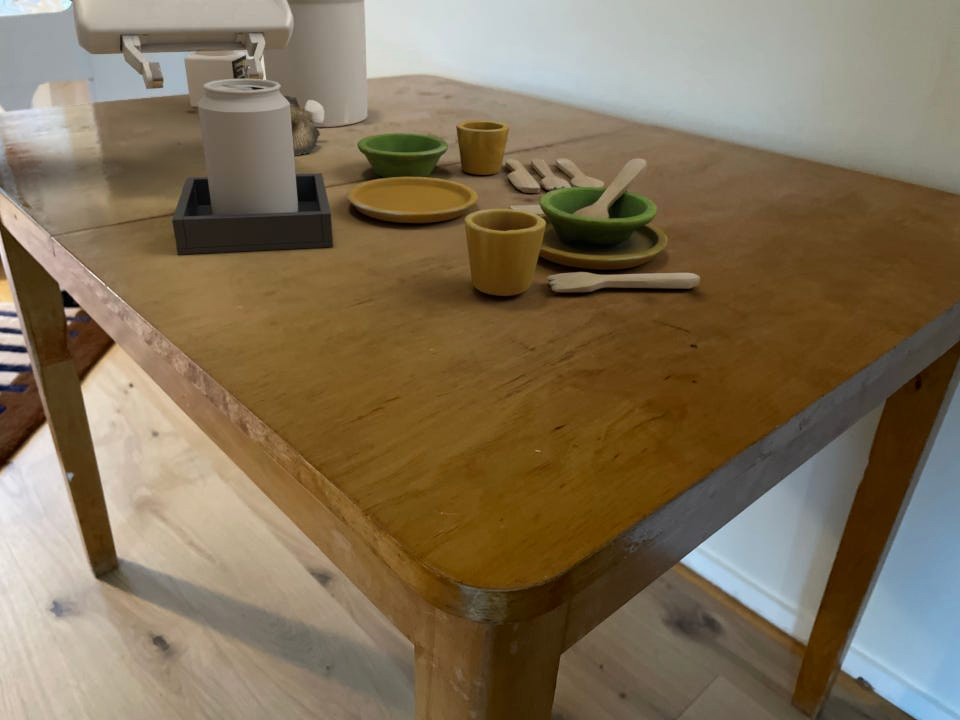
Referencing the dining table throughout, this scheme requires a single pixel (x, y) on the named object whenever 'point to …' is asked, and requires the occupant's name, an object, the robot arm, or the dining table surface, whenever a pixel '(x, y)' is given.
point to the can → (248, 147)
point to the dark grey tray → (252, 222)
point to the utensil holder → (324, 59)
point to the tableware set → (519, 213)
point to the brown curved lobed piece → (305, 124)
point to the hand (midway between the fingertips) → (207, 82)
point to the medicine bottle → (211, 70)
